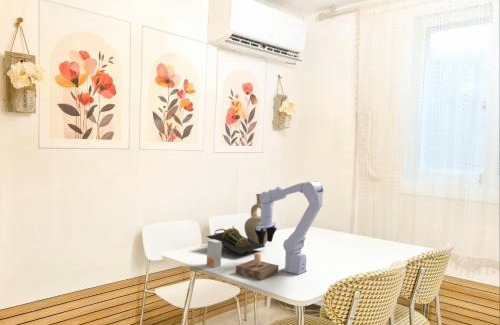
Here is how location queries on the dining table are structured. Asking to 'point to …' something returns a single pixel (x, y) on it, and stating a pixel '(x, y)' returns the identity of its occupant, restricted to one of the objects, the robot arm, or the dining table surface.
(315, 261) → the dining table surface
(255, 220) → the vase
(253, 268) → the socket block
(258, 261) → the peg
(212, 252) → the skincare box
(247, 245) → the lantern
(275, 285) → the dining table surface
